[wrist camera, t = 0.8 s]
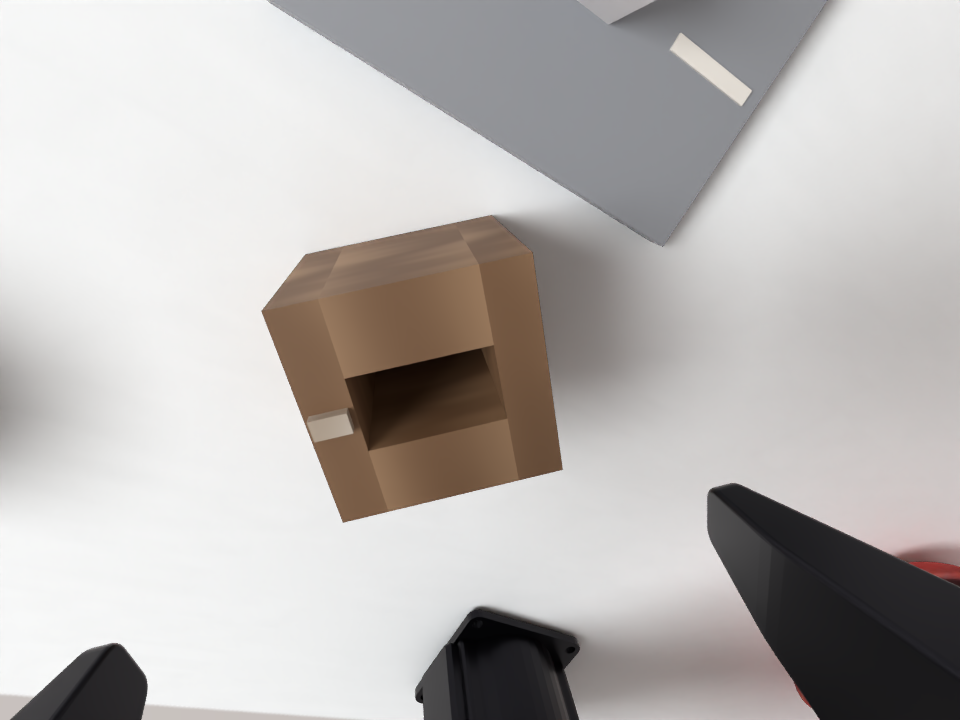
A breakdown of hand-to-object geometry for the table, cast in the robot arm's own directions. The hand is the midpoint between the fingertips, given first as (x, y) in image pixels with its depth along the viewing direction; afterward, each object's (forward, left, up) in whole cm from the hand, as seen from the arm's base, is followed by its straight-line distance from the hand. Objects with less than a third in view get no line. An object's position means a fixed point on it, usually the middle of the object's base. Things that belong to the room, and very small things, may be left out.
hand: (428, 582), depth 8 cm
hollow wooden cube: (0, 0, -12) cm, 12 cm away
